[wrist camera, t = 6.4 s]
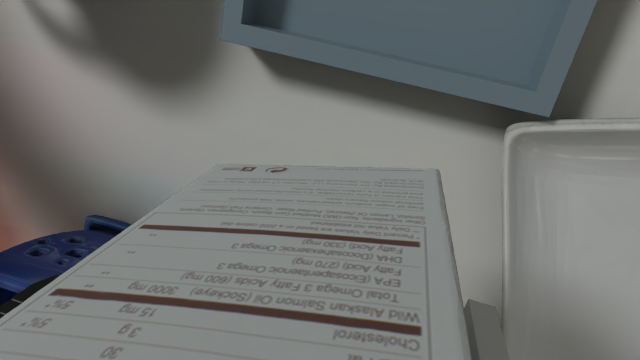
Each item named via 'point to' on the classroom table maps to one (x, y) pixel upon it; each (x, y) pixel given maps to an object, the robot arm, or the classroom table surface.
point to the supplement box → (263, 275)
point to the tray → (427, 42)
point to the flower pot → (53, 254)
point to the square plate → (571, 239)
